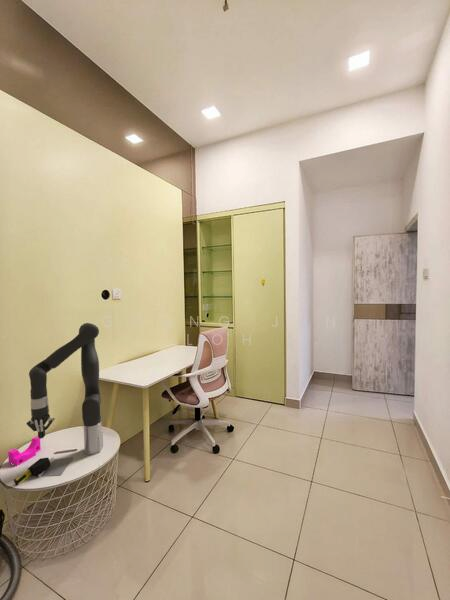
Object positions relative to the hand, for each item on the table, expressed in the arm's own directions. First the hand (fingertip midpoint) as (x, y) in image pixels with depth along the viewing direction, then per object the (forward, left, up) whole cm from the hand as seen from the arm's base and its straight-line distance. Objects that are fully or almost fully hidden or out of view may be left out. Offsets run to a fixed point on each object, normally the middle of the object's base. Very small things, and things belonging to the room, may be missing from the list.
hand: (41, 437), depth 139 cm
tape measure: (+4, +5, -15) cm, 16 cm away
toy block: (+14, -12, -17) cm, 25 cm away
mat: (-6, 0, -17) cm, 18 cm away
